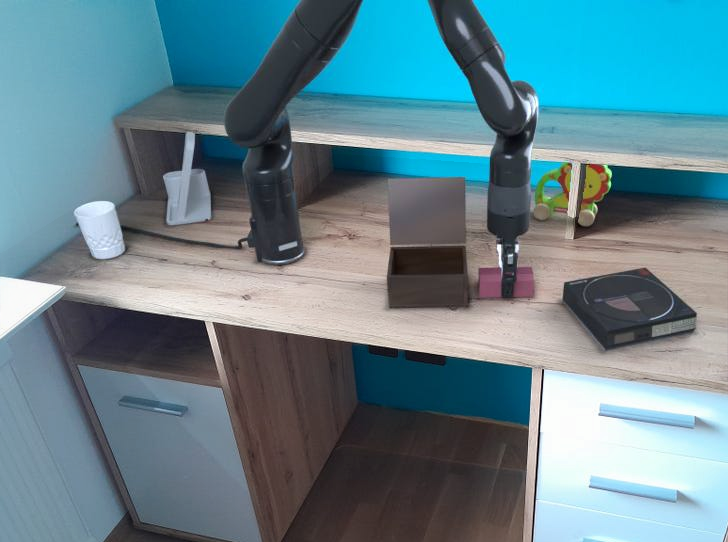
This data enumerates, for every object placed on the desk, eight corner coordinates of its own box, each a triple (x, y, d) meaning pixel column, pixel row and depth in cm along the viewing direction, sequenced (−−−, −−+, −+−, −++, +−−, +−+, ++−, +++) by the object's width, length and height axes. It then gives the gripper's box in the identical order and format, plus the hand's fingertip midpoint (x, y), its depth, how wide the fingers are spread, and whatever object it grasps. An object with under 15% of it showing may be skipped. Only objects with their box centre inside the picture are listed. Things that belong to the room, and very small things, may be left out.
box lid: (465, 176, 128) (465, 176, 128) (387, 178, 128) (388, 178, 129) (466, 243, 131) (465, 243, 131) (390, 245, 131) (390, 244, 132)
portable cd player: (606, 353, 114) (609, 333, 111) (562, 301, 127) (564, 282, 125) (694, 334, 117) (699, 315, 115) (642, 286, 130) (645, 267, 128)
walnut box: (467, 307, 126) (467, 275, 122) (389, 308, 127) (386, 276, 123) (465, 276, 135) (465, 245, 131) (392, 277, 136) (390, 246, 132)
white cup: (112, 240, 152) (97, 198, 147) (136, 248, 149) (122, 205, 143) (81, 255, 147) (65, 212, 141) (106, 264, 144) (90, 219, 138)
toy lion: (531, 220, 155) (535, 153, 145) (537, 210, 159) (542, 144, 150) (603, 229, 150) (611, 161, 141) (607, 219, 154) (616, 152, 145)
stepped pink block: (479, 297, 129) (479, 281, 127) (478, 283, 133) (478, 267, 131) (533, 296, 128) (534, 280, 126) (530, 282, 133) (531, 266, 130)
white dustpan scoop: (169, 196, 171) (149, 123, 160) (211, 191, 173) (194, 119, 162) (166, 226, 158) (145, 148, 147) (212, 219, 160) (194, 142, 149)
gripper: (485, 188, 126) (483, 268, 136) (489, 223, 115) (487, 307, 124) (526, 187, 126) (522, 267, 136) (534, 222, 114) (529, 306, 124)
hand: (505, 286), depth 130 cm, fingers open, 7 cm apart
